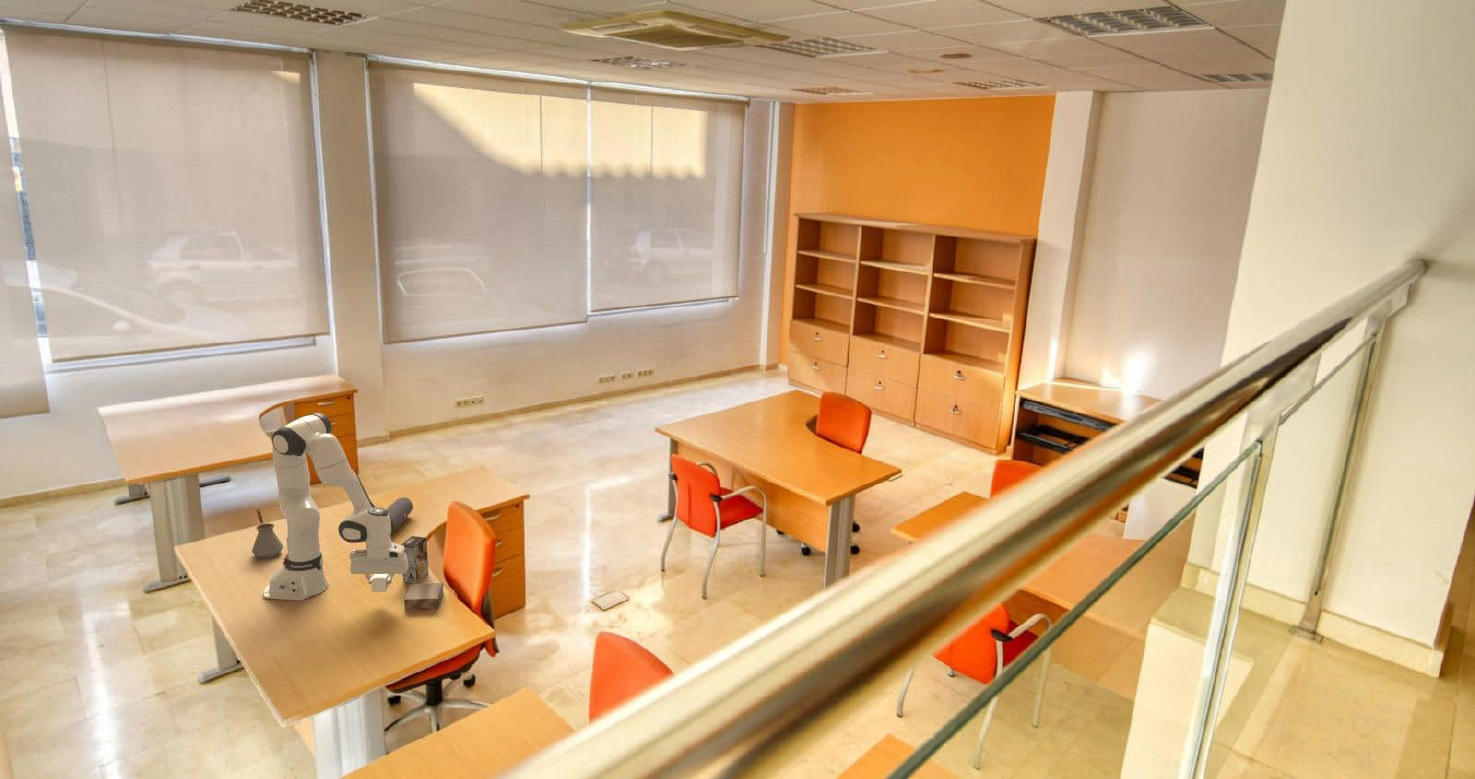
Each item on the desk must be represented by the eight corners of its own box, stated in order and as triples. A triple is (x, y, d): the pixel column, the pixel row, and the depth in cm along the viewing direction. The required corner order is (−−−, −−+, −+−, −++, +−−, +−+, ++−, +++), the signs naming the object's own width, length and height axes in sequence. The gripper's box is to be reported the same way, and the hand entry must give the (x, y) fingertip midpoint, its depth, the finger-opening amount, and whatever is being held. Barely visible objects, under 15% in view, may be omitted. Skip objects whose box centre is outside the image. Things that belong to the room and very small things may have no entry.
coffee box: (414, 571, 357) (412, 535, 352) (429, 573, 355) (426, 537, 351) (402, 581, 348) (399, 545, 344) (416, 583, 347) (414, 547, 342)
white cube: (371, 591, 327) (371, 579, 326) (375, 585, 332) (374, 573, 330) (385, 591, 328) (385, 579, 326) (388, 585, 333) (388, 573, 331)
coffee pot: (286, 556, 364) (282, 523, 360) (255, 563, 357) (251, 530, 353) (276, 537, 380) (272, 505, 376) (246, 543, 374) (242, 511, 370)
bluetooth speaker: (396, 537, 384) (394, 517, 382) (375, 537, 384) (373, 516, 382) (415, 516, 406) (413, 496, 403) (395, 515, 406) (393, 495, 404)
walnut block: (405, 611, 327) (404, 599, 326) (411, 595, 339) (410, 583, 337) (438, 610, 329) (437, 598, 328) (443, 594, 341) (442, 582, 339)
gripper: (347, 553, 321) (348, 587, 325) (405, 553, 324) (406, 587, 328) (351, 546, 327) (353, 579, 331) (408, 546, 330) (409, 579, 334)
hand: (380, 583), depth 329 cm, fingers closed on white cube, 5 cm apart
